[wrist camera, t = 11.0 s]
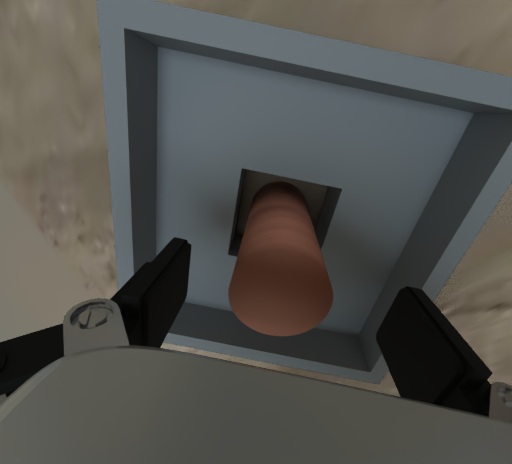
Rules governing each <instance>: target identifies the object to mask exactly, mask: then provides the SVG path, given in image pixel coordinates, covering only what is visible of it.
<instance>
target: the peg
mask: <svg viewBox="0 0 512 464" xmlns="http://www.w3.org/2000/svg"><path fill="white" fill-rule="evenodd" d="M228 297H229V303H230V306H231V308H232V310H233V312H234V314H235V315H236V316H237V318H238V319H239V320H240V321H241V322H242V323H244V324H245V325H246V326H248V327H250V328H251V329H253V330H255V331H257V332H260V333H263V334H267V335H272V336H292V335H297V334H301V333H304V332H306V331H308V330H311V329H312V328H314V327H316V326H317V325H318V324H319V323H321V322H322V321H323V320H324V319H325V317H326V316H327V315H328V313H329V311H330V309H331V306H332V303H333V290H332V285H331V282H330V279H329V276H328V272H327V269H326V266H325V263H324V260H323V256H322V253H321V250H320V247H319V243H318V240H317V237H316V234H315V231H314V227H313V224H312V221H311V218H310V214H309V211H308V208H307V205H306V202H305V199H304V196H303V194H302V193H301V191H300V190H299V189H298V188H296V187H295V186H294V185H292V184H289V183H286V182H272V183H269V184H267V185H265V186H263V187H262V188H261V189H260V190H259V191H258V192H257V193H256V195H255V196H254V199H253V202H252V206H251V209H250V213H249V217H248V220H247V224H246V227H245V231H244V235H243V238H242V242H241V246H240V249H239V253H238V256H237V260H236V264H235V267H234V271H233V274H232V278H231V282H230V285H229V291H228Z"/></svg>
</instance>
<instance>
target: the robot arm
mask: <svg viewBox="0 0 512 464" xmlns="http://www.w3.org/2000/svg"><path fill="white" fill-rule="evenodd" d="M190 258H191V244H189V243H188V241H187V240H186V239H181V238H176V237H174V238H173V239H172V240H171V241H170V242H169V243H168V244H167V245H166V246H165V247H164V249H163V250H162V251H161V252H160V253H159V254H158V255H157V256H156V257H155V258H154V260H153V261H152V262H146V263H145V264H143V265H142V266H141V268H140V269H139V270H138V271H137V272H136V273H135V274H134V275H133V276H132V277H131V278H130V279H129V280H128V281H127V282H126V283H125V284H124V285H123V287H122V288H121V289H120V290H119V291H118V292H117V293H116V294H115V295H114V296H113V297H112V298H111V299H110V300H109V299H101V298H98V299H90V300H87V301H84V302H81V303H79V304H77V305H75V306H74V307H72V308H71V309H70V310H69V311H68V312H67V313H66V315H65V316H64V320H63V324H60V325H56V326H53V327H50V328H46V329H43V330H40V331H37V332H33V333H30V334H26V335H23V336H20V337H17V338H13V339H10V340H7V341H3V342H0V464H512V386H511V385H508V384H505V383H502V382H495V383H492V385H491V384H490V383H489V382H488V381H487V379H488V378H489V377H490V376H491V375H492V372H491V371H490V370H489V368H488V367H487V366H486V365H485V364H484V362H483V361H482V360H481V359H480V358H479V357H478V355H477V354H476V353H475V352H474V351H473V349H472V348H471V347H470V346H469V345H468V343H467V342H466V341H465V340H464V339H463V337H462V336H461V335H460V334H459V333H458V331H457V330H456V329H455V328H454V327H453V326H452V324H451V323H450V322H449V321H448V320H447V318H446V317H445V316H444V315H443V314H442V312H441V311H440V310H439V309H438V308H437V306H436V305H435V304H434V303H433V302H432V301H431V299H430V298H429V297H428V296H427V295H426V293H425V292H424V291H423V290H422V289H419V288H414V287H409V286H406V287H404V288H402V289H400V290H399V292H398V294H397V295H396V297H395V299H394V301H393V303H392V305H391V307H390V309H389V310H388V312H387V314H386V316H385V318H384V320H383V322H382V323H381V325H380V327H379V329H378V331H377V333H376V341H377V343H378V346H379V348H380V350H381V352H382V355H383V357H384V359H385V362H386V364H387V366H388V368H389V371H390V373H391V375H392V378H393V380H394V382H395V385H396V387H397V389H398V391H399V394H400V396H401V397H398V396H393V395H389V394H384V393H380V392H375V391H371V390H366V389H361V388H356V387H352V386H347V385H342V384H338V383H333V382H328V381H324V380H319V379H314V378H309V377H305V376H300V375H295V374H290V373H286V372H281V371H276V370H271V369H266V368H261V367H256V366H252V365H247V364H242V363H237V362H232V361H227V360H222V359H217V358H212V357H207V356H202V355H197V354H192V353H187V352H181V351H175V350H169V349H163V348H160V347H161V345H162V343H163V341H164V339H165V337H166V336H167V334H168V332H169V330H170V328H171V326H172V324H173V322H174V320H175V319H176V317H177V315H178V313H179V311H180V309H181V307H182V305H183V303H184V302H185V299H186V296H187V291H188V280H189V269H190Z"/></svg>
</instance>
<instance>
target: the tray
mask: <svg viewBox="0 0 512 464" xmlns="http://www.w3.org/2000/svg"><path fill="white" fill-rule="evenodd" d="M96 2H97V15H98V28H99V41H100V54H101V67H102V81H103V94H104V107H105V120H106V133H107V146H108V160H109V173H110V186H111V199H112V212H113V225H114V239H115V252H116V265H117V278H118V291H119V290H120V289H121V288H122V287H123V285H124V284H125V283H126V282H127V281H128V280H129V279H130V278H131V277H132V276H133V275H134V274H135V273H136V272H137V271H138V270H139V269H140V268H141V266H142V265H143V264H145V263H146V262H152V261H153V260H154V258H155V257H156V256H157V255H158V254H159V253H160V252H161V251H162V250H163V249H164V247H165V246H166V245H167V244H168V243H169V242H170V241H171V240H172V239H173V238H174V237H176V238H181V239H186V240H187V241H188V243H189V244H191V258H190V269H189V280H188V291H187V296H186V299H185V302H184V303H183V305H182V307H181V309H180V311H179V313H178V315H177V317H176V319H175V320H174V322H173V324H172V326H171V328H170V330H169V332H168V334H167V336H166V337H165V339H164V341H163V342H164V343H170V344H175V345H180V346H185V347H190V348H195V349H200V350H205V351H210V352H216V353H221V354H226V355H231V356H236V357H241V358H246V359H251V360H256V361H262V362H267V363H272V364H277V365H282V366H287V367H292V368H297V369H302V370H308V371H313V372H318V373H323V374H328V375H333V376H338V377H343V378H348V379H354V380H359V381H364V382H369V383H374V384H380V382H381V381H382V379H383V378H384V376H385V375H386V373H387V372H388V370H389V368H388V366H387V364H386V362H385V359H384V357H383V355H382V352H381V350H380V348H379V346H378V343H377V341H376V333H377V331H378V329H379V327H380V325H381V323H382V322H383V320H384V318H385V316H386V314H387V312H388V310H389V309H390V307H391V305H392V303H393V301H394V299H395V297H396V295H397V294H398V292H399V290H400V289H402V288H404V287H406V286H409V287H414V288H419V289H422V290H423V291H424V292H425V293H426V295H427V296H428V297H429V298H430V299H431V301H432V302H434V300H435V299H436V297H437V296H438V294H439V292H440V291H441V289H442V288H443V286H444V285H445V283H446V282H447V280H448V279H449V277H450V276H451V274H452V273H453V271H454V270H455V268H456V267H457V265H458V263H459V262H460V260H461V259H462V257H463V256H464V254H465V253H466V251H467V250H468V248H469V247H470V245H471V244H472V242H473V241H474V239H475V238H476V236H477V235H478V233H479V231H480V230H481V228H482V227H483V225H484V224H485V222H486V221H487V219H488V218H489V216H490V215H491V213H492V212H493V210H494V209H495V207H496V206H497V204H498V203H499V201H500V199H501V198H502V196H503V195H504V193H505V192H506V190H507V189H508V187H509V186H510V184H511V183H512V77H510V76H505V75H501V74H496V73H491V72H487V71H482V70H477V69H472V68H468V67H463V66H458V65H454V64H449V63H444V62H440V61H435V60H430V59H426V58H421V57H416V56H411V55H407V54H402V53H397V52H393V51H388V50H383V49H379V48H374V47H369V46H365V45H360V44H355V43H350V42H346V41H341V40H336V39H332V38H327V37H322V36H318V35H313V34H308V33H303V32H299V31H294V30H289V29H285V28H280V27H275V26H271V25H266V24H261V23H257V22H252V21H247V20H242V19H238V18H233V17H228V16H224V15H219V14H214V13H210V12H205V11H200V10H196V9H191V8H186V7H181V6H177V5H172V4H167V3H163V2H158V1H153V0H96ZM246 169H248V170H253V171H258V172H263V173H267V174H272V175H277V176H282V177H287V178H292V179H297V180H302V181H306V182H311V183H316V184H321V185H326V186H329V188H328V191H327V195H326V198H325V201H324V204H323V207H322V210H321V213H320V216H319V219H318V222H317V225H316V228H315V234H316V237H317V240H318V243H319V247H320V250H321V253H322V256H323V260H324V263H325V266H326V269H327V272H328V276H329V279H330V282H331V285H332V290H333V303H332V306H331V309H330V311H329V313H328V315H327V316H326V317H325V319H324V320H323V321H322V322H321V323H319V324H318V325H317V326H316V327H314V328H312V329H311V330H308V331H306V332H304V333H301V334H297V335H292V336H272V335H267V334H263V333H260V332H257V331H255V330H253V329H251V328H250V327H248V326H246V325H245V324H244V323H242V322H241V321H240V320H239V319H238V318H237V316H236V315H235V314H234V312H233V310H232V308H231V306H230V303H229V297H228V291H229V285H230V282H231V278H232V274H233V271H234V267H235V264H236V260H237V256H238V253H239V249H240V246H241V242H242V238H243V237H240V236H235V230H236V224H237V218H238V212H239V206H240V200H241V194H242V188H243V182H244V176H245V170H246Z"/></svg>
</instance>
